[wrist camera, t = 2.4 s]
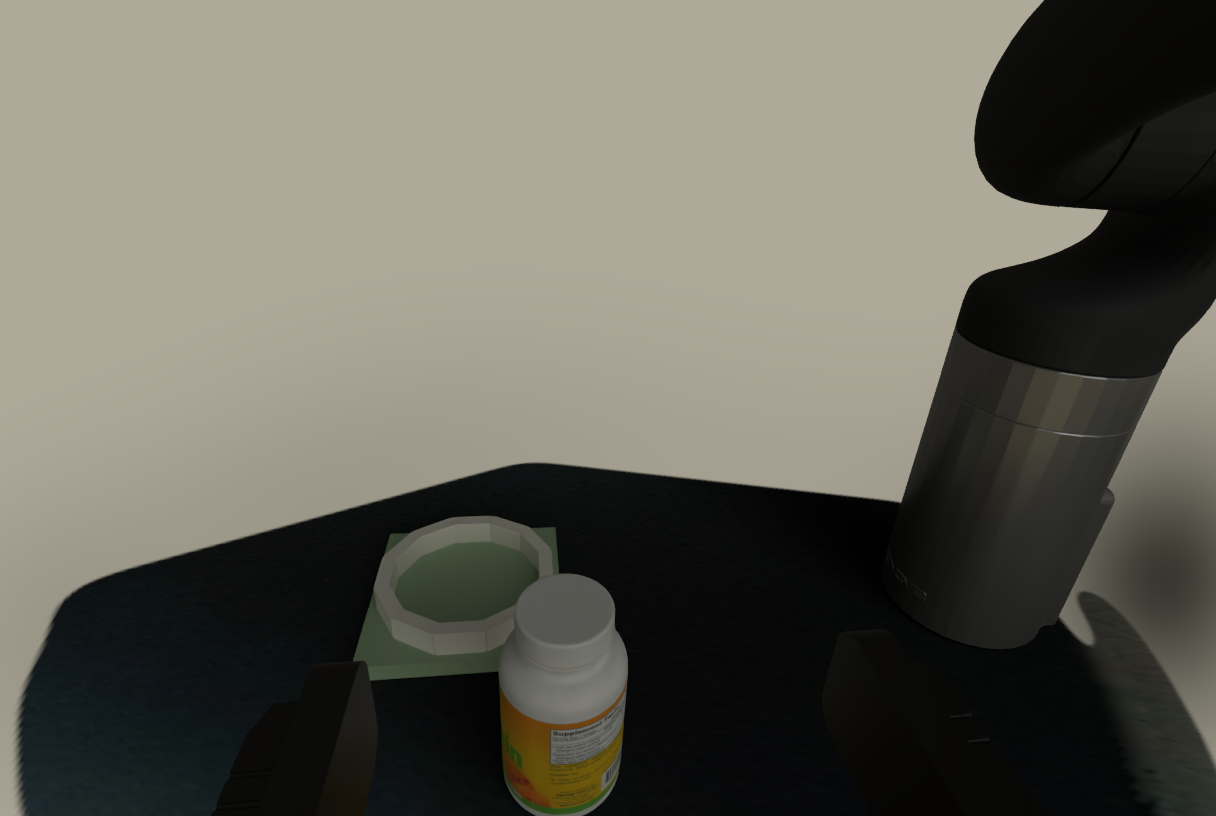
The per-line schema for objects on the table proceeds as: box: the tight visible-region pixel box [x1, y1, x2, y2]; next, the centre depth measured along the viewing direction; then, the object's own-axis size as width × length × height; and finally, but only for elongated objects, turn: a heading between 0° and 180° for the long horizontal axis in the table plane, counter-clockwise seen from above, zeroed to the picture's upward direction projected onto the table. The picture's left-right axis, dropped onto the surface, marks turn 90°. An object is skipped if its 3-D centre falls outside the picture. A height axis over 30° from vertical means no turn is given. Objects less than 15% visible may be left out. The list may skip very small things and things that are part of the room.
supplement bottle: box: [499, 574, 628, 816], centre depth 27 cm, size 5×5×10 cm
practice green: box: [353, 516, 559, 680], centre depth 37 cm, size 11×11×2 cm
